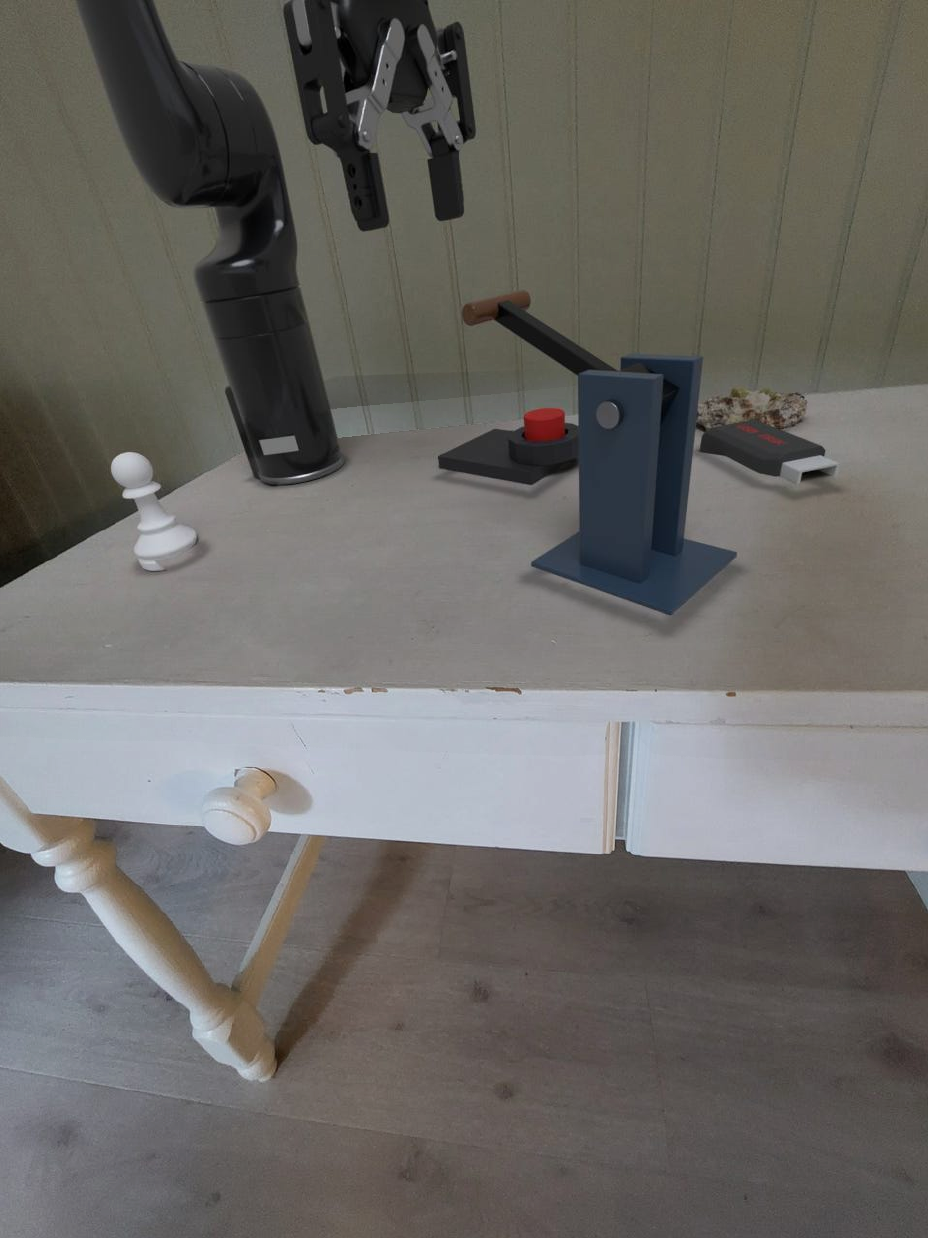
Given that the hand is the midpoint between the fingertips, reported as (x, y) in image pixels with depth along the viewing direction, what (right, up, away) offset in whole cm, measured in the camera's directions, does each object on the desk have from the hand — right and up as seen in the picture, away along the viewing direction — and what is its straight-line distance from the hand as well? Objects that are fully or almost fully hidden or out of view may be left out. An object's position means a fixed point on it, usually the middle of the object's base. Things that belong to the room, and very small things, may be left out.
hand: (414, 224), depth 39 cm
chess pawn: (-21, -22, +9) cm, 32 cm away
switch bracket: (+14, -25, -2) cm, 28 cm away
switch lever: (+9, -13, -6) cm, 17 cm away
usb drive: (+29, -15, +9) cm, 34 cm away
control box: (+8, -13, +16) cm, 22 cm away
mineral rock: (+33, -8, +19) cm, 38 cm away
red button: (+11, -11, +12) cm, 19 cm away
